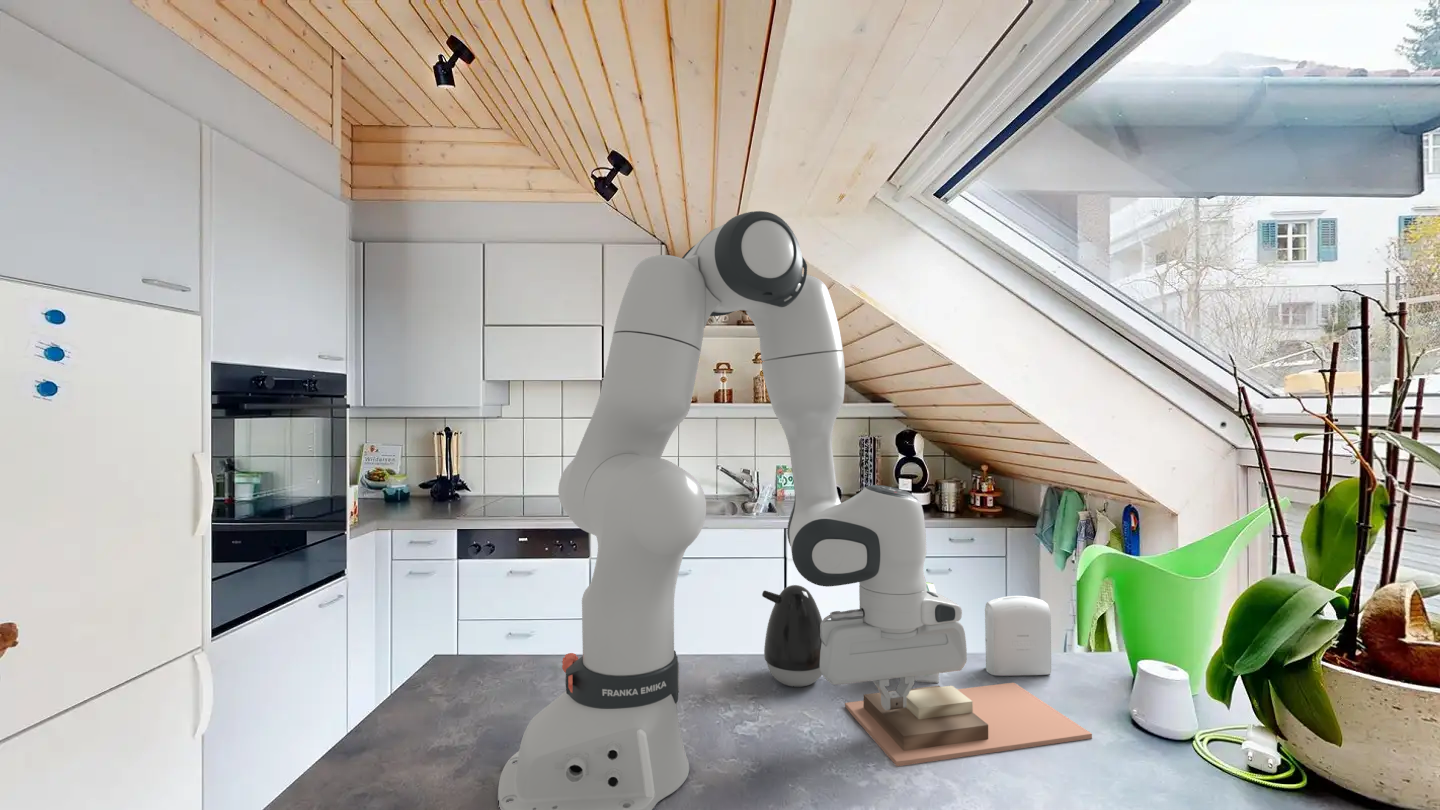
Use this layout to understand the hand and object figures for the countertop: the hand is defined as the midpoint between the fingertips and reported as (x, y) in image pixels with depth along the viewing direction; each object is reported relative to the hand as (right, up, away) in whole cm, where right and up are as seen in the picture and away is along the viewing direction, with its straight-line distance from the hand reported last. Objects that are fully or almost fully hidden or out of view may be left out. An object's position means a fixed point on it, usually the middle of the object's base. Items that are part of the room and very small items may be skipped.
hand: (893, 707), depth 91 cm
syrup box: (+9, -3, +18) cm, 20 cm away
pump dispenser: (-11, -3, +16) cm, 20 cm away
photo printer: (+25, -3, +18) cm, 31 cm away
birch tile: (+6, -1, +1) cm, 6 cm away
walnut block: (+4, -3, +1) cm, 5 cm away
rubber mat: (+10, -3, +2) cm, 11 cm away
